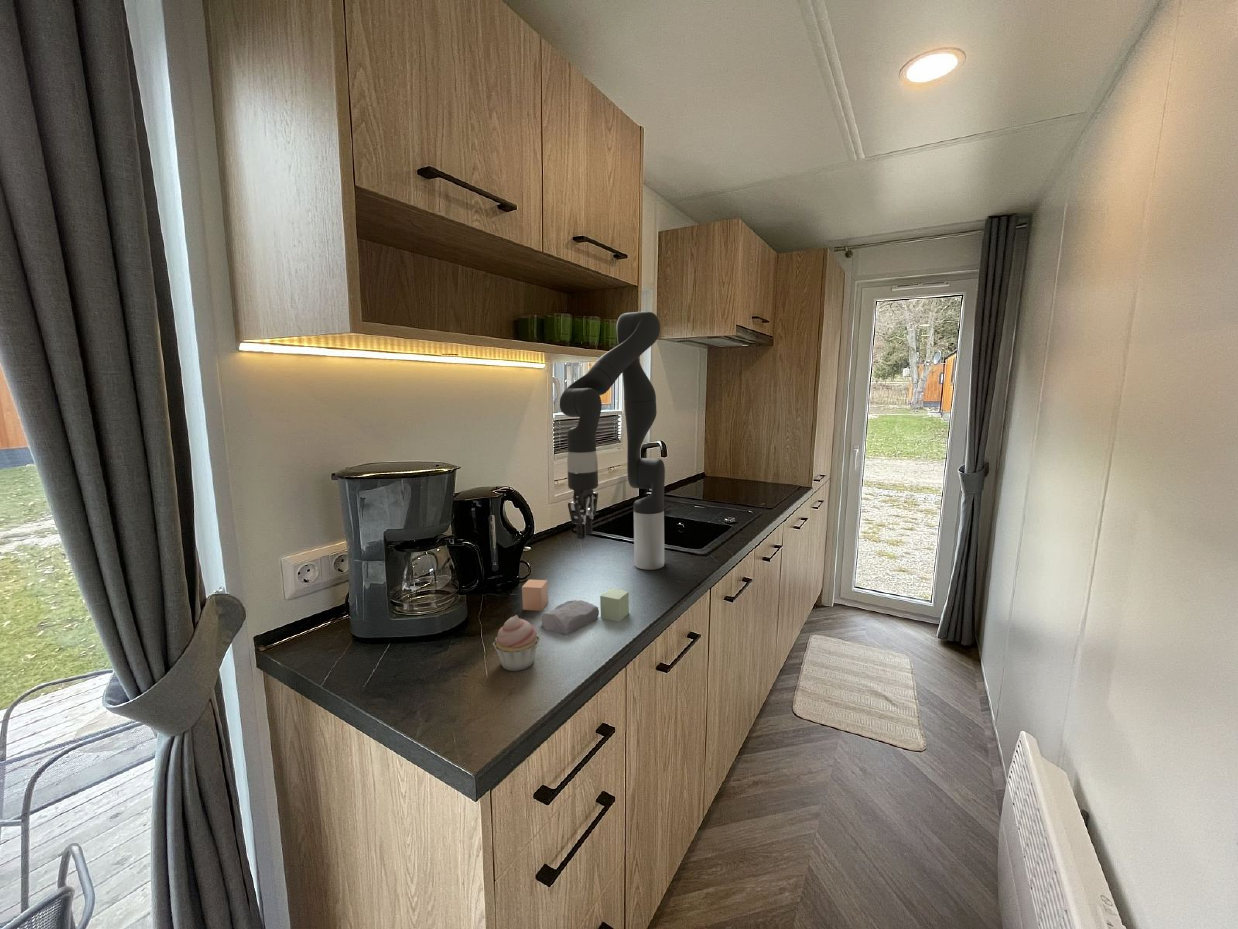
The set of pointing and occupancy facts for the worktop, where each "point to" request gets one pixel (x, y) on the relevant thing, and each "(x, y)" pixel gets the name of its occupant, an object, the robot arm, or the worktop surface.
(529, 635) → the cupcake
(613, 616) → the sage block
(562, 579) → the worktop surface
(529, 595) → the terracotta block
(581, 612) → the stone block
